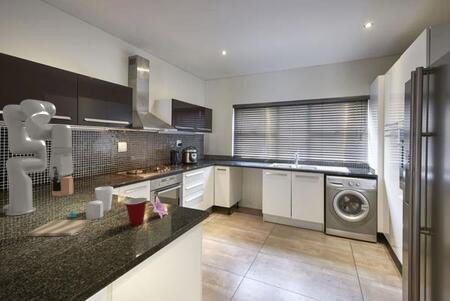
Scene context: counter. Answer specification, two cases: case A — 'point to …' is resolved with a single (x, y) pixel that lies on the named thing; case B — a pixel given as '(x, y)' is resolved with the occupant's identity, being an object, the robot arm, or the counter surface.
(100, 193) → the foam cup
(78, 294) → the counter surface
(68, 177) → the pink acorn nut
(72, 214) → the marble
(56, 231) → the oak board
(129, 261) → the counter surface
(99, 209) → the white domed cap nut
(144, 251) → the counter surface
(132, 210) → the plastic cup
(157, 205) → the lily
